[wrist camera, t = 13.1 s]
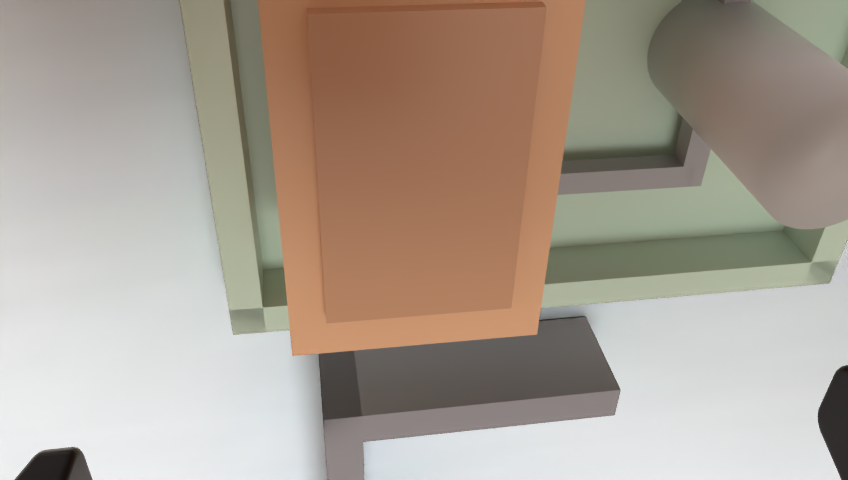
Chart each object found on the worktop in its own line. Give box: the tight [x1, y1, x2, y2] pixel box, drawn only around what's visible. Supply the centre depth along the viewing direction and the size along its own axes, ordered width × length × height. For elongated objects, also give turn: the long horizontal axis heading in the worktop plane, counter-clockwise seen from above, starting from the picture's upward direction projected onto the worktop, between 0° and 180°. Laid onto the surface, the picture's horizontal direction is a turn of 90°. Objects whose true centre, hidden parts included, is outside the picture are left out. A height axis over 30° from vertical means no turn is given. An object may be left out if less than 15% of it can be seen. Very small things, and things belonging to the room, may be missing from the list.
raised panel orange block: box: [258, 0, 848, 356], centre depth 16 cm, size 8×11×6 cm
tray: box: [179, 0, 848, 335], centre depth 18 cm, size 16×13×2 cm
